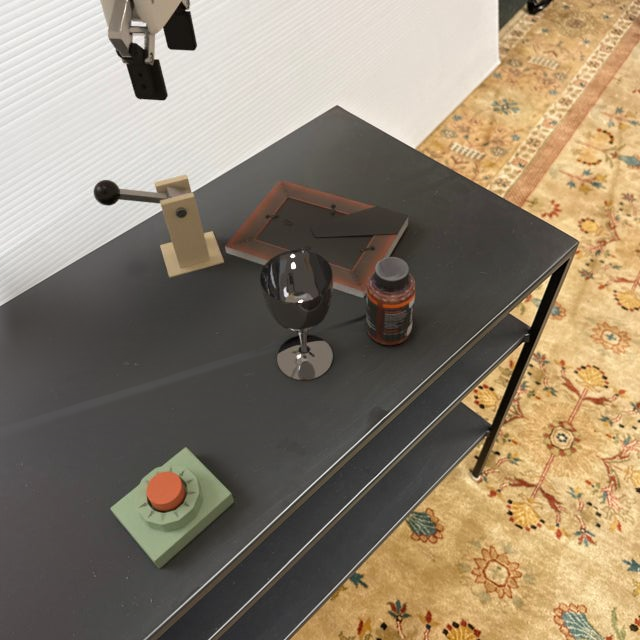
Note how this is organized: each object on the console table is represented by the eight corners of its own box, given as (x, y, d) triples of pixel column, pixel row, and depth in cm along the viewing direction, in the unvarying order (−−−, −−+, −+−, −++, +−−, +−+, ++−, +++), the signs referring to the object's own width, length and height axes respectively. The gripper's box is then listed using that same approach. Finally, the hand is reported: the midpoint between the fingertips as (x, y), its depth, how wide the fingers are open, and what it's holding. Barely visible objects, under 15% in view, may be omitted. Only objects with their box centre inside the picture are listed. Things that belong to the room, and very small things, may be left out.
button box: (159, 569, 65) (149, 555, 62) (115, 516, 69) (104, 500, 66) (234, 502, 70) (229, 485, 67) (189, 455, 74) (182, 438, 70)
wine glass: (277, 387, 79) (263, 307, 67) (270, 337, 84) (256, 255, 73) (341, 377, 80) (338, 296, 68) (330, 328, 85) (326, 245, 73)
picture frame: (407, 227, 96) (281, 191, 103) (408, 214, 94) (279, 178, 101) (362, 303, 87) (227, 257, 94) (363, 290, 85) (224, 245, 92)
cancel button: (164, 518, 65) (159, 511, 64) (143, 495, 67) (139, 487, 65) (192, 494, 67) (188, 487, 65) (171, 472, 68) (167, 464, 67)
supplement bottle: (421, 333, 83) (428, 272, 75) (384, 355, 81) (388, 295, 73) (392, 305, 87) (396, 243, 78) (356, 325, 85) (356, 264, 76)
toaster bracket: (171, 282, 91) (148, 213, 81) (161, 250, 96) (139, 181, 86) (225, 267, 93) (209, 197, 83) (214, 236, 97) (197, 166, 87)
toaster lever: (93, 209, 80) (97, 188, 79) (90, 194, 82) (94, 173, 80) (187, 217, 86) (192, 198, 84) (182, 203, 88) (187, 184, 86)
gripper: (118, -152, 60) (161, 31, 73) (33, -82, 49) (102, 117, 62) (195, -152, 58) (225, 33, 72) (126, -81, 48) (176, 122, 61)
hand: (168, 72), depth 67 cm, fingers open, 9 cm apart
